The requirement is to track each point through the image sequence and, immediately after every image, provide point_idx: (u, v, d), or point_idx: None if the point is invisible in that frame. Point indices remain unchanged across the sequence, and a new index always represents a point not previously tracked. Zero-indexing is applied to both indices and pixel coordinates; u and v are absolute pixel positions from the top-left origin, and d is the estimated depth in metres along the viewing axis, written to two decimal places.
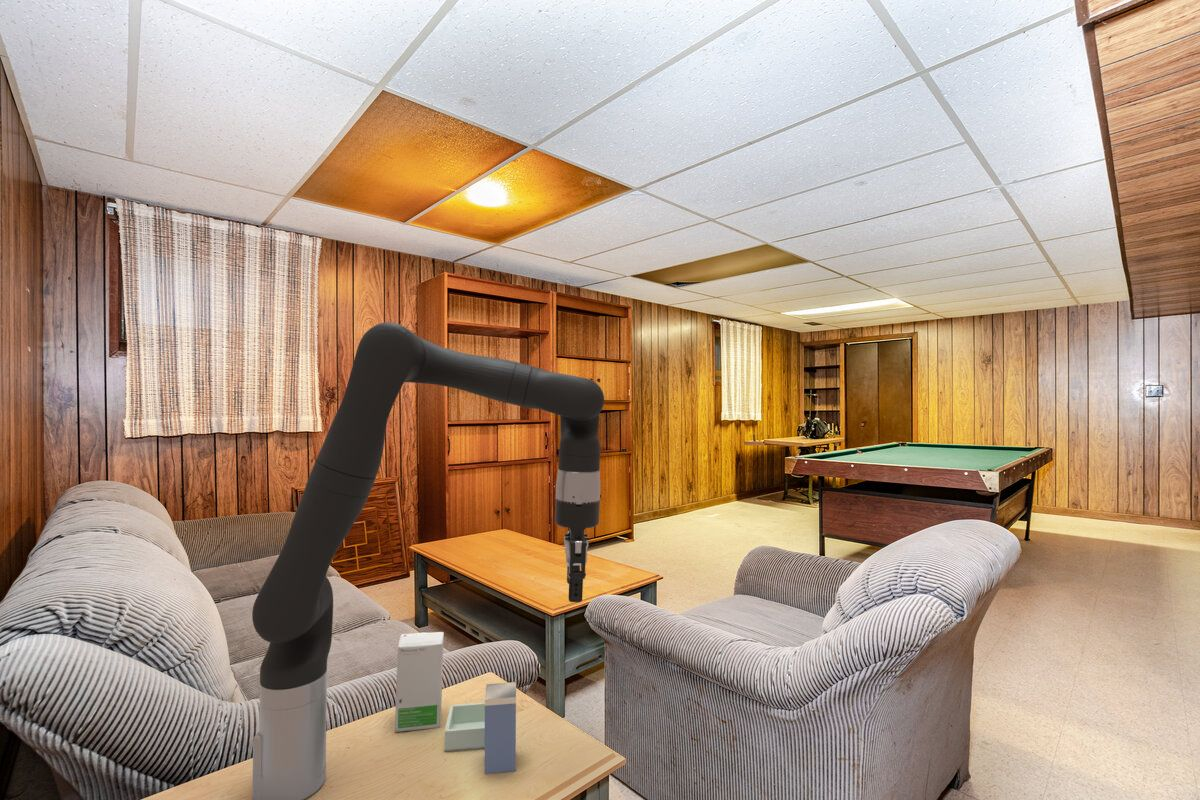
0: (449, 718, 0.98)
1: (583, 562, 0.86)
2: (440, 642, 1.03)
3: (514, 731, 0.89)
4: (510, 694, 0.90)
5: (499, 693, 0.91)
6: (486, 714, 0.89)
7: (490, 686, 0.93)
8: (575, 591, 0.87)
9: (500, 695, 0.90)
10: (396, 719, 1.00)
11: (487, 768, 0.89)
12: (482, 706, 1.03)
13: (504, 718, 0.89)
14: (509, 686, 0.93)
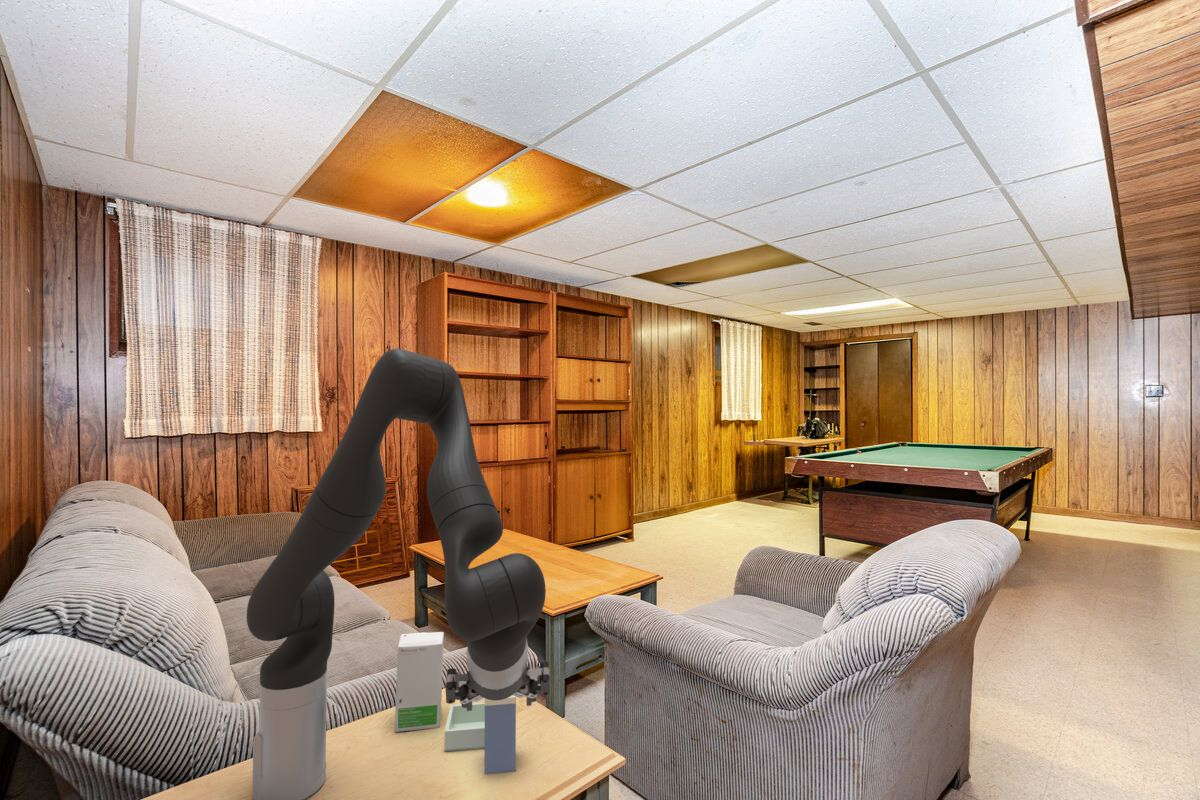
0: (449, 718, 0.98)
1: (446, 694, 0.74)
2: (440, 642, 1.03)
3: (514, 731, 0.89)
4: None
5: None
6: (486, 714, 0.89)
7: None
8: None
9: None
10: (396, 719, 1.00)
11: (487, 768, 0.89)
12: (482, 706, 1.03)
13: (504, 718, 0.89)
14: None
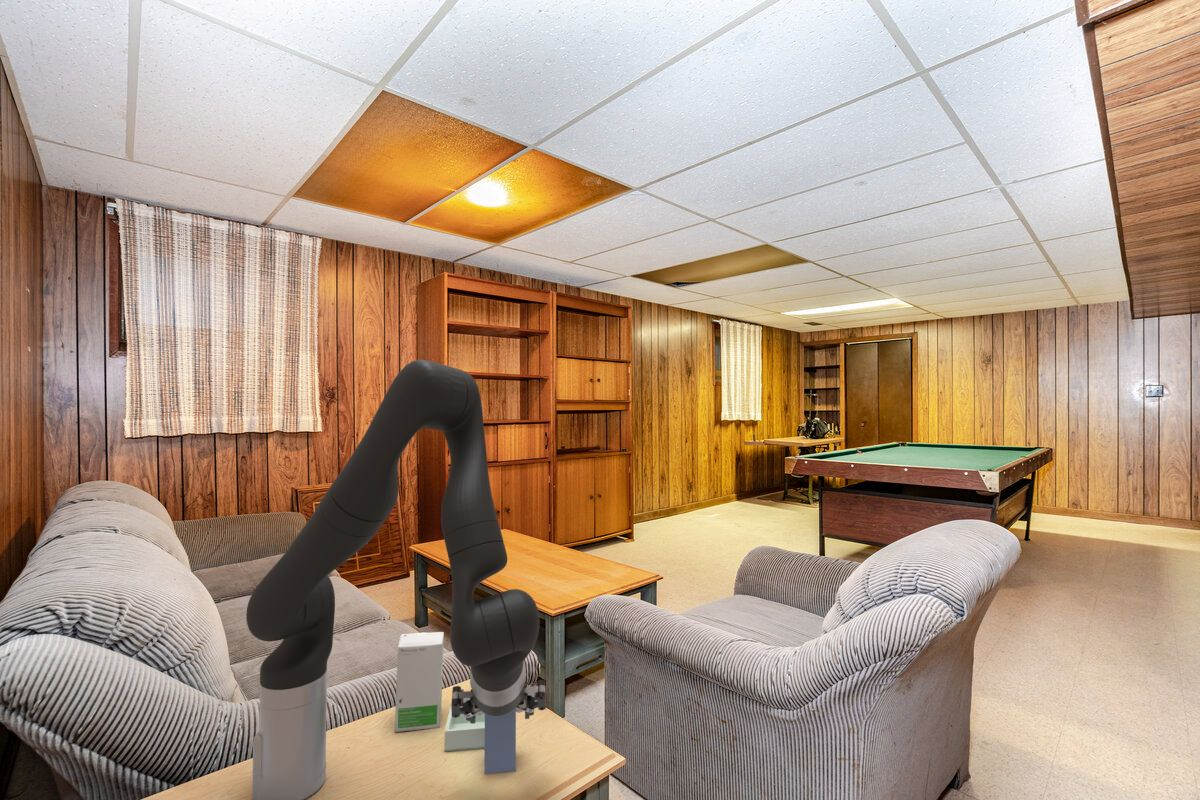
0: (449, 718, 0.98)
1: None
2: (440, 642, 1.03)
3: (514, 731, 0.89)
4: None
5: None
6: (486, 714, 0.89)
7: None
8: None
9: None
10: (396, 719, 1.00)
11: (487, 768, 0.89)
12: None
13: (504, 718, 0.89)
14: None
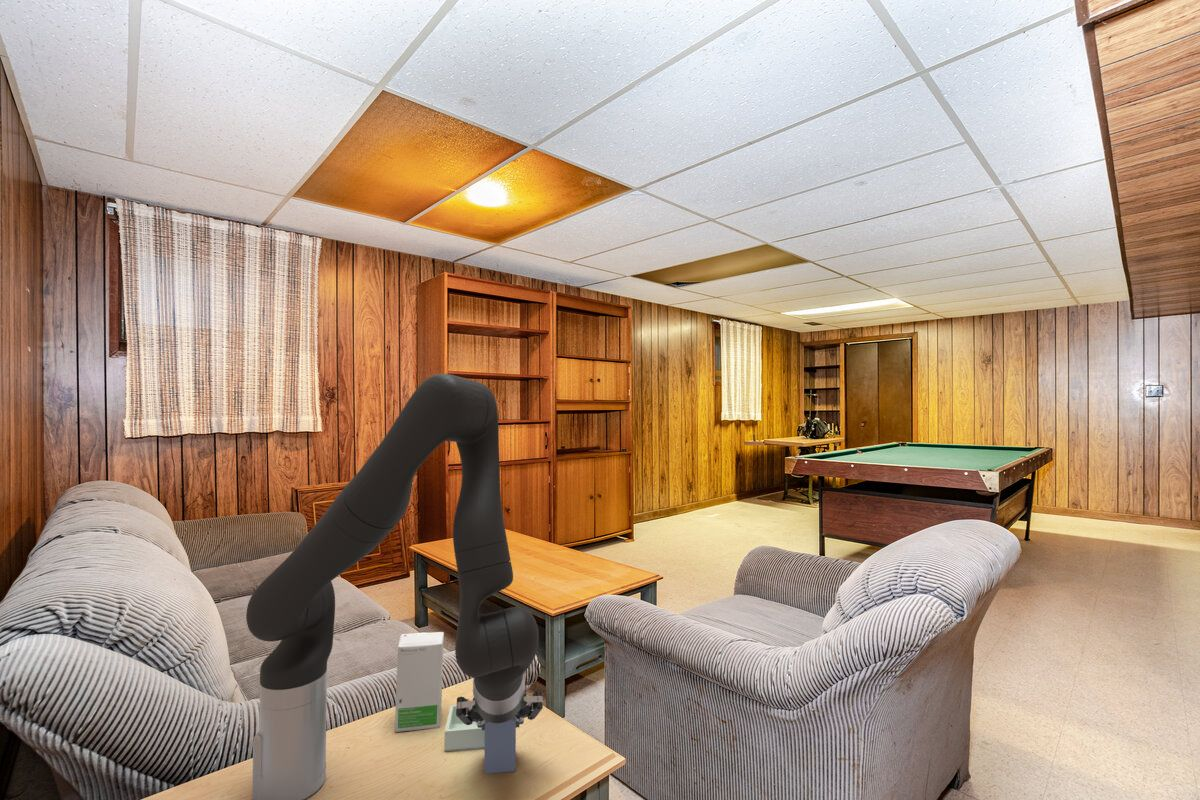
0: (449, 718, 0.98)
1: None
2: (440, 642, 1.03)
3: (514, 731, 0.89)
4: None
5: None
6: None
7: None
8: None
9: None
10: (396, 719, 1.00)
11: (487, 768, 0.89)
12: None
13: None
14: None
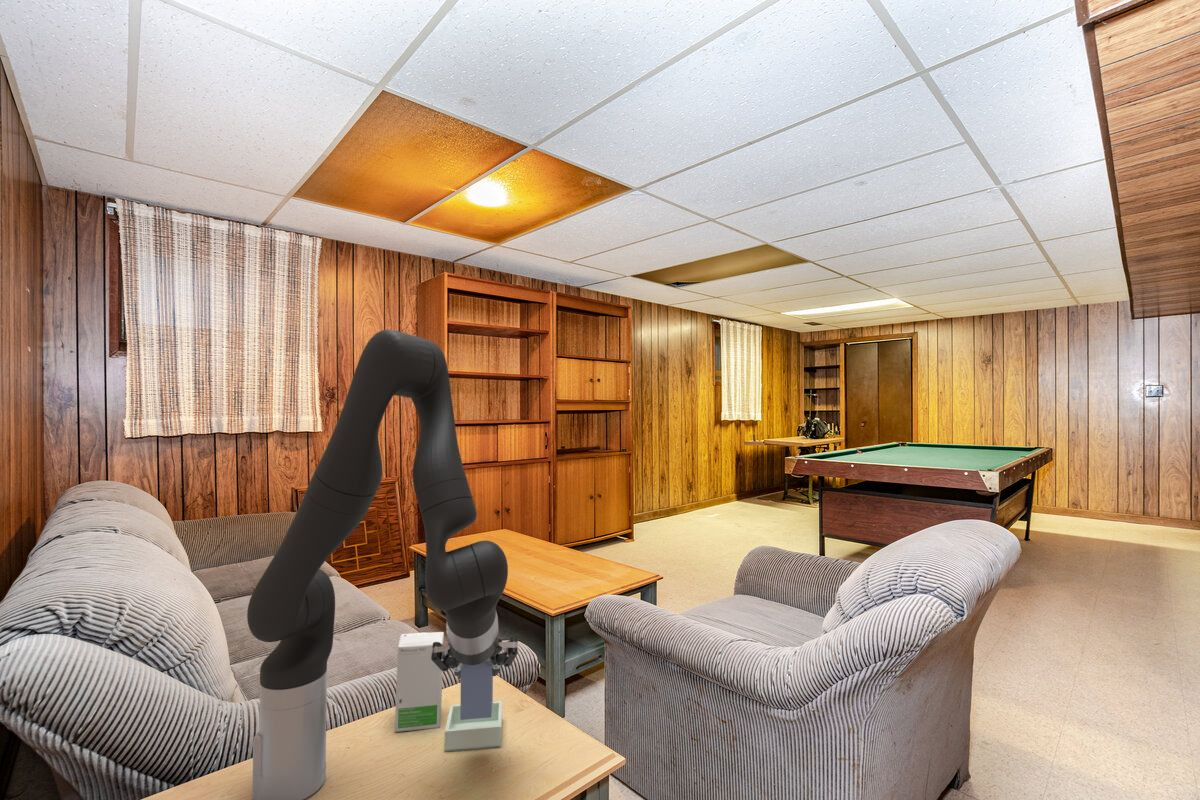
0: (449, 718, 0.98)
1: None
2: (440, 642, 1.03)
3: (490, 678, 0.90)
4: None
5: None
6: None
7: None
8: None
9: None
10: (396, 719, 1.00)
11: (463, 714, 0.90)
12: None
13: (480, 664, 0.90)
14: None
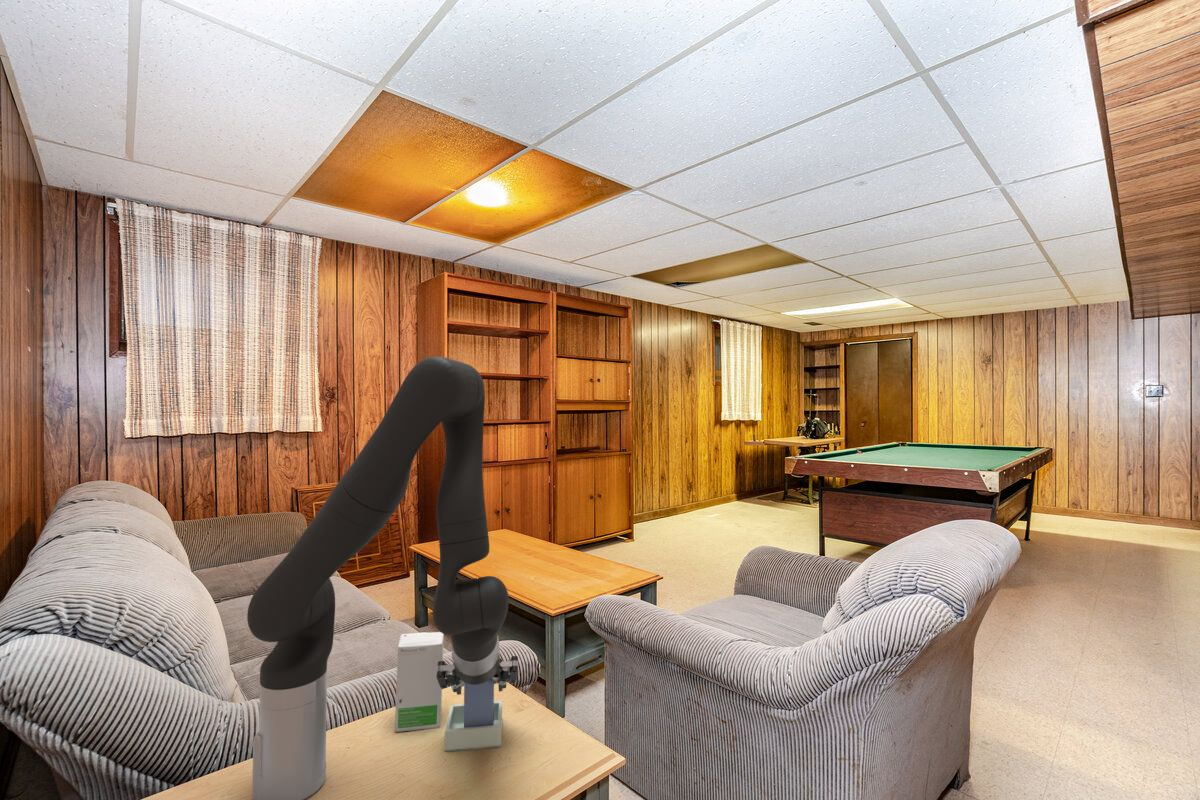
0: (449, 718, 0.98)
1: None
2: (440, 642, 1.03)
3: (492, 703, 0.97)
4: None
5: None
6: (465, 687, 0.97)
7: None
8: None
9: None
10: (396, 719, 1.00)
11: None
12: None
13: (482, 691, 0.97)
14: None
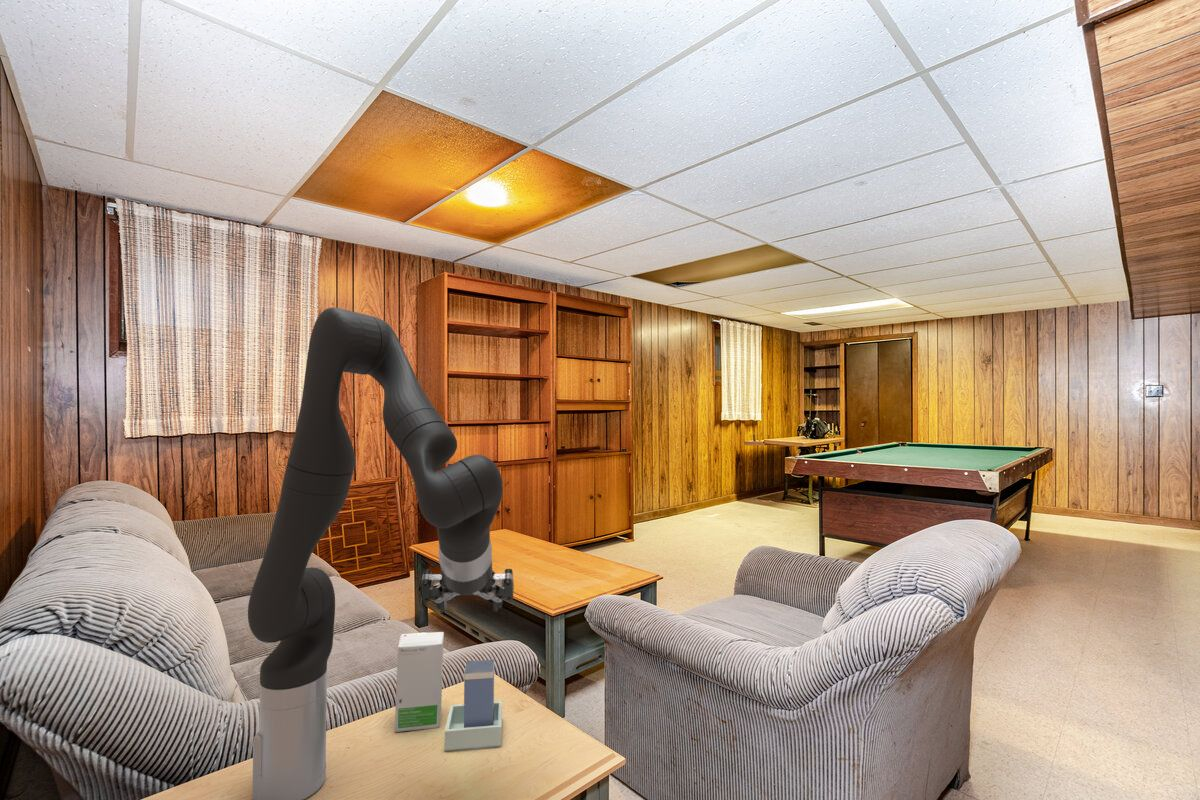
0: (449, 718, 0.98)
1: (422, 592, 0.85)
2: (440, 642, 1.03)
3: (492, 703, 0.97)
4: (488, 670, 0.98)
5: (478, 669, 0.99)
6: (465, 687, 0.97)
7: (470, 662, 1.01)
8: None
9: (479, 670, 0.98)
10: (396, 719, 1.00)
11: None
12: None
13: (482, 691, 0.97)
14: (487, 663, 1.01)
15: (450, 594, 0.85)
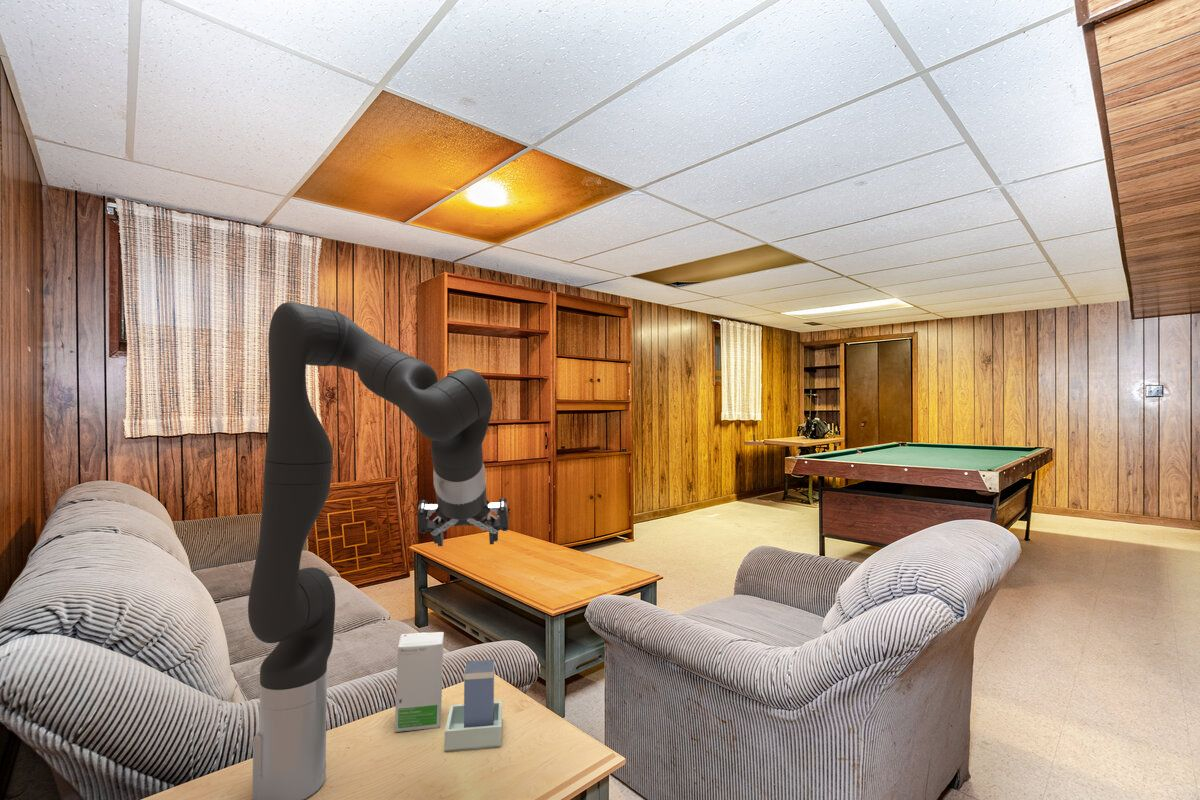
0: (449, 718, 0.98)
1: None
2: (440, 642, 1.03)
3: (492, 703, 0.97)
4: (488, 670, 0.98)
5: (478, 669, 0.99)
6: (465, 687, 0.97)
7: (470, 662, 1.01)
8: None
9: (479, 670, 0.98)
10: (396, 719, 1.00)
11: None
12: None
13: (482, 691, 0.97)
14: (487, 663, 1.01)
15: (446, 523, 0.87)
